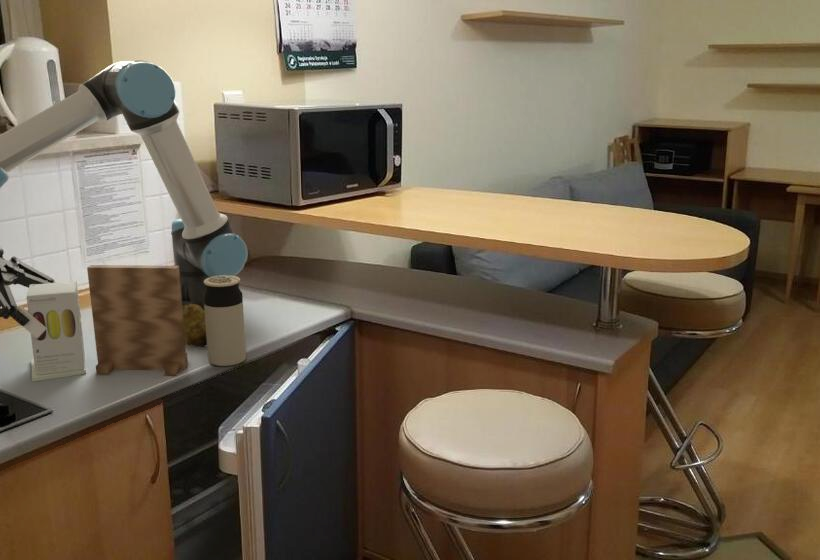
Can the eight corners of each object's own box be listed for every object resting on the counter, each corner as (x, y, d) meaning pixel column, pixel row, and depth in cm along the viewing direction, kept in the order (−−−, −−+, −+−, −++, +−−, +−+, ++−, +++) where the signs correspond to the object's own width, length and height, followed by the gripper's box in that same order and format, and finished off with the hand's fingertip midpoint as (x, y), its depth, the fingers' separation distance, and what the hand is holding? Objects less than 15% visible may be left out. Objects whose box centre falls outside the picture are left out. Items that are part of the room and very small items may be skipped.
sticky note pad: (82, 354, 173) (81, 350, 173) (86, 373, 162) (85, 369, 162) (31, 361, 169) (31, 358, 168) (32, 381, 158) (32, 377, 158)
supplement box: (34, 376, 159) (23, 296, 154) (37, 360, 167) (27, 283, 163) (85, 369, 162) (76, 291, 158) (86, 354, 171) (77, 279, 166)
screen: (191, 361, 169) (183, 262, 163) (179, 376, 161) (171, 272, 155) (108, 360, 169) (97, 261, 163) (92, 375, 162) (80, 271, 156)
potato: (176, 352, 174) (173, 318, 172) (176, 333, 186) (173, 301, 184) (215, 349, 176) (213, 315, 174) (212, 330, 188) (210, 298, 186)
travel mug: (215, 369, 164) (209, 287, 160) (203, 358, 171) (197, 278, 166) (251, 362, 169) (247, 281, 164) (238, 351, 175) (233, 272, 170)
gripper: (-4, 249, 172) (72, 315, 176) (-74, 280, 148) (16, 356, 152) (17, 225, 170) (93, 292, 174) (-51, 253, 146) (40, 330, 150)
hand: (57, 322), depth 163 cm, fingers open, 13 cm apart
